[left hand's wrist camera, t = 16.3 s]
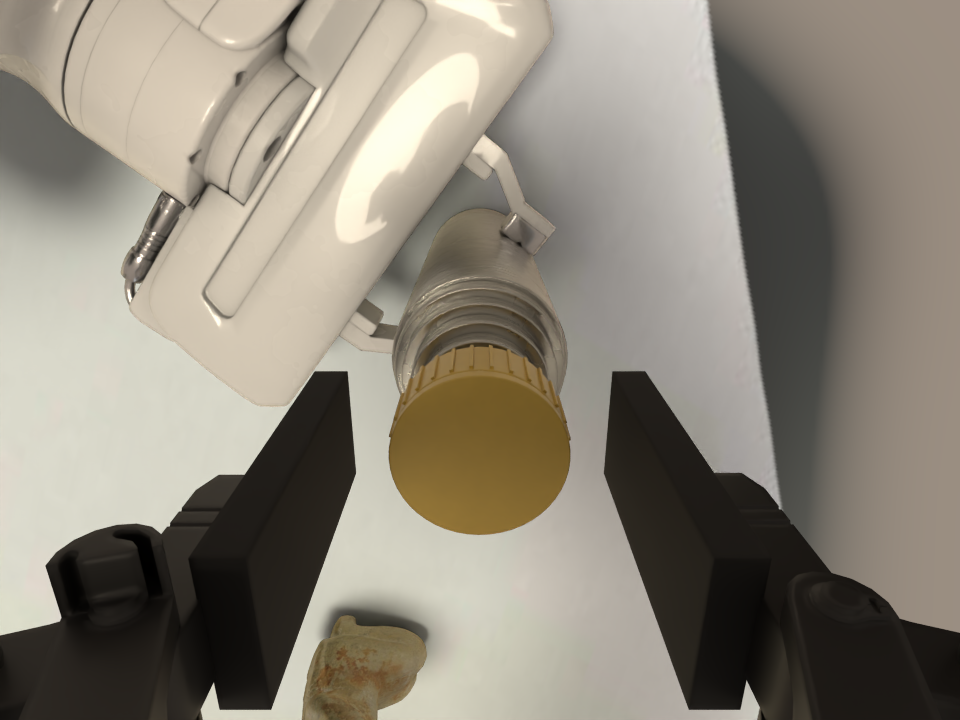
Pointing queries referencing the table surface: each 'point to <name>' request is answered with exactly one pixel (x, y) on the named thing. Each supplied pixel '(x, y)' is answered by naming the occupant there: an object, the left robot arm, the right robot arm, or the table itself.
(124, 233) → the table surface
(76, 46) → the right robot arm
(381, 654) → the sculpture
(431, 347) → the bottle
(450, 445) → the cap
